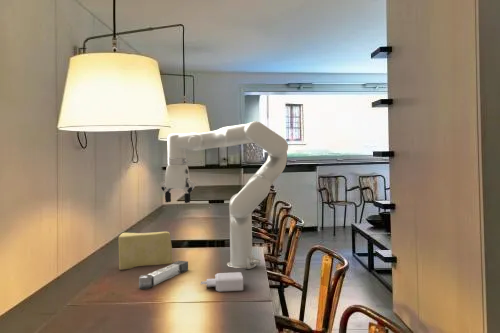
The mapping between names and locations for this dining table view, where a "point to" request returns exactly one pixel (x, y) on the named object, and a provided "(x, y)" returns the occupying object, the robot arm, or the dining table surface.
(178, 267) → the tongs leg
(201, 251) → the dining table surface
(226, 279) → the charger
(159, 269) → the tongs leg
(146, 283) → the tongs hinge pin
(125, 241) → the cheese
